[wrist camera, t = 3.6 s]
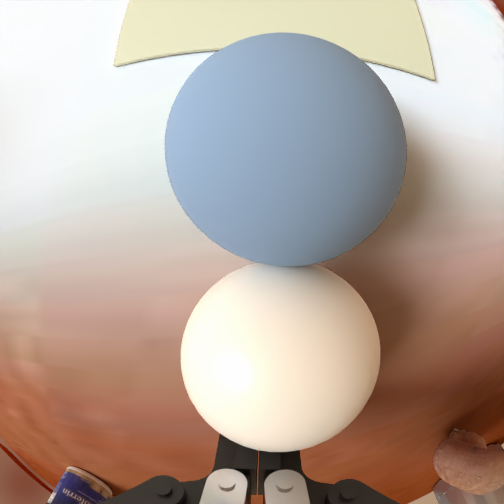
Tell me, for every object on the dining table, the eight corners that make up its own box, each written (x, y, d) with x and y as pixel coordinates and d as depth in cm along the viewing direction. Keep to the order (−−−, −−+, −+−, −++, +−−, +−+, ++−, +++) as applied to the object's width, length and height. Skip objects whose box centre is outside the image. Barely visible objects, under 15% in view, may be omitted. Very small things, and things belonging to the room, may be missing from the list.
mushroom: (469, 435, 14) (502, 490, 6) (413, 466, 14) (439, 531, 6) (490, 382, 12) (542, 445, 4) (425, 420, 13) (469, 505, 5)
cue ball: (334, 339, 12) (365, 224, 9) (361, 458, 7) (454, 369, 4) (206, 341, 12) (187, 223, 9) (190, 466, 7) (123, 389, 4)
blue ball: (354, 100, 9) (429, 16, 3) (355, 250, 10) (453, 297, 4) (201, 93, 9) (146, -5, 3) (195, 246, 10) (114, 292, 4)
